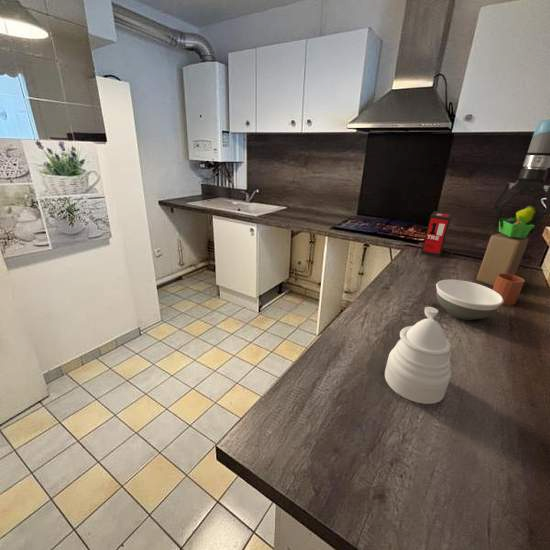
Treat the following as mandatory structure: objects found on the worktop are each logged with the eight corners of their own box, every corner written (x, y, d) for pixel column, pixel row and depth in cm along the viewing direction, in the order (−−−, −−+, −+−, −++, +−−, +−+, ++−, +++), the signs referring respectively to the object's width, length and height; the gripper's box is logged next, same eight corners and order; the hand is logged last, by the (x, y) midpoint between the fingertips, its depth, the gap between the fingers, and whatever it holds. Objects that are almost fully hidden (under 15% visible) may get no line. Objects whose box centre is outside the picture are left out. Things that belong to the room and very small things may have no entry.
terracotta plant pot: (515, 299, 108) (524, 277, 104) (514, 307, 102) (524, 284, 98) (490, 293, 112) (498, 271, 108) (488, 300, 106) (496, 277, 103)
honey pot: (383, 358, 74) (397, 295, 67) (438, 369, 71) (459, 305, 64) (385, 395, 63) (403, 324, 56) (451, 410, 60) (478, 337, 53)
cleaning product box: (425, 246, 167) (434, 211, 159) (442, 249, 162) (452, 213, 154) (421, 253, 154) (430, 215, 146) (439, 257, 150) (450, 218, 142)
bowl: (503, 334, 86) (513, 310, 83) (433, 321, 92) (440, 297, 88) (485, 306, 102) (493, 284, 99) (427, 295, 108) (432, 275, 105)
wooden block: (512, 284, 120) (530, 237, 112) (502, 289, 115) (520, 241, 107) (485, 275, 128) (500, 231, 120) (474, 280, 123) (490, 234, 115)
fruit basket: (493, 230, 119) (502, 202, 114) (518, 232, 117) (528, 203, 113) (507, 237, 109) (518, 207, 104) (534, 239, 107) (546, 208, 103)
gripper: (496, 166, 107) (477, 225, 116) (579, 171, 95) (551, 237, 103) (497, 166, 113) (479, 222, 122) (577, 170, 100) (550, 233, 109)
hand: (512, 229), depth 113 cm, fingers closed on fruit basket, 10 cm apart
